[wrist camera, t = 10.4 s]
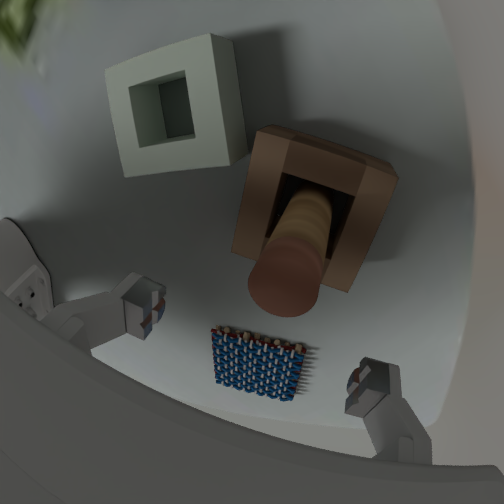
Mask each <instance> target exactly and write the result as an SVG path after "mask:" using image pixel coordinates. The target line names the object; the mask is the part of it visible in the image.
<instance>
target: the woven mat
mask: <svg viewBox="0 0 504 504" xmlns="http://www.w3.org/2000/svg"><path fill="white" fill-rule="evenodd" d="M211 332H213V333H212V341H213V344H212V349H213V355H214V357H213V359H214V364H215V365H214V367H215V369H214V371H215V378H216V379H218V380H216V383H218V384H222V385H223V386H224V385H225V386H226V387H229V386H231V388H233V387H234V388H236V389H237V390H239V391H240V390H243V392H244V391H246V392H248V393H251V392H255V393H254V394H258V395H259V396H263V395H265V397H267V396H268V397H270V398H271V399H274V398H277V399H278V400H279V399H280V401H288V400H290V401H292V400H293V397H294V396H293V395H291V394H294V393H295V392H296V391H295V390H296V386H297V382H298V381H295V380H294V379H297V380H298V379H299V374H300V373H296V372H300V371H301V366H302V365H301V364H302V363H303V360H304V355H300V354H301V352H303V353H304V354H305V353H306V349H305V348H303V347H302V345H300V344H296V345H295V346H291V347H290V343H289V342H285V345H284V346H283V345H280V340H279V339H276V340H275V341H274V344H271V343H270V341H271V340H270V338H265V339H264V341H261V340H260V334H258V333H255V337H254V338H253V337H252V336H251V335H250V333H247V332H244V333H243V334H240V331H237V330H236V333H235V334H233V333H231V330H230V328H229V327H225V328H224V331H221V326H218V325H216V329H213V328H212V329H211ZM234 338H235V339H234ZM241 338H243V340H242V339H241ZM250 341H251V342H250ZM242 345H243V346H242ZM253 348H254V349H253ZM223 349H224V350H223ZM289 351H291V352H289ZM223 358H224V359H223ZM298 363H299V364H298ZM234 365H235V366H234ZM291 366H292V367H291ZM276 370H277V372H276ZM236 384H237V385H236ZM259 390H260V392H259ZM262 391H263V392H262ZM284 397H287V398H284Z"/></svg>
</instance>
